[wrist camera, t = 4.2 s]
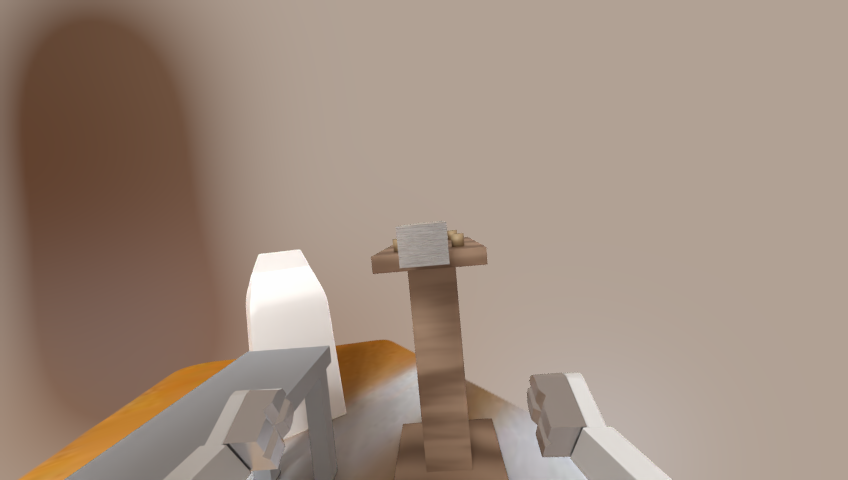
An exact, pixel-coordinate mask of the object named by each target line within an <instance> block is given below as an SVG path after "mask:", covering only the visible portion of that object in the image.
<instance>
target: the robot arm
mask: <svg viewBox="0 0 848 480" xmlns="http://www.w3.org/2000/svg"><path fill="white" fill-rule="evenodd" d="M529 381H530V385H531V387H530V388H528V392H527V402H528V408H529V412H530V416H531V419H532V420H533V421H534V422H535V423H536V424H537V425H538V426H537V430H536V437H537V440H538V444H539V447H540V451H541V454H542V457H571V458H570V459H571V460H572V461H573V462H574V463H575V465H576V466H577V467H578V468H579V469H580V470H581V472H582V473H583V474H584V475H585V476H586V478H587V479H588V480H672V479H671V478H670V477H669V476H668V475H666V474H665V473H664V472H663V471H662V470H661V469H660V468H658V467H657V466H656V465H655V464H654V463H653V462H652V461H651V460H649V459H648V458H647V457H646V456H645V455H644V454H643V453H642V452H640V451H639V450H638V449H637V448H636V447H635V446H633V445H632V444H631V443H630V442H629V441H628V440H627V439H626V438H625V437H623V436H622V435H621V434H620V433H619V432H617V430H615V429H614V428H613V427H612V426H606V424H605V422H604V420H603V417H602V415H601V413H600V411H599V409H598V407H597V405H596V403H595V401H594V399H593V397H592V394H591V392H590V390H589V388H588V386H587V384H586V382H585V380H584V378H583V376H582V375H581V374H580V373H579V372H572V373H552V374H540V375H531V376H530V380H529ZM285 396H286V393H285V391H284V390H283V388H280V389H261V390H240V391H235V392H234V393H233V394H232V395H231V396H230V397H229V399H228V401H227V403H226V405H225V407H224V409H223V411H222V413H221V415H220V417H219V419H218V420H217V422H216V424H215V426H214V428H213V430H212V432H211V434H210V436H209V438H208V440H207V442H206V444H205V445H204V446H199V447H198V448H197V449H196V450H195V451H194V452H193V453H192V454H190V455H189V456H188V457H187V458H186V459H185V460H184V461H183V462H182V463H181V464H180V465H178V466H177V467H176V468H175V469H174V470H173V471H172V472H171V473H170V474H169V475H168V476H166V477H165V478H164V479H163V480H246V479H247V477H248V476H249V475H250V474H251V471H258V470H271V469H278V466H279V463H280V460H281V457H282V454H283V451H284V448H285V444H284V441H283V438H284V437H285V436H286V435H287V433H288V432H289V431H290V429H291V426H292V422H293V415H294V410H293V405H292V403H291V401H289V400H287V399H285Z"/></svg>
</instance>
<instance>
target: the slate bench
mask: <svg viewBox="0 0 848 480" xmlns="http://www.w3.org/2000/svg"><path fill="white" fill-rule="evenodd" d="M330 363H331V354H330V346H318V347H304V348H291V349H277V350H264V351H250V352H247V353H246V354H244V355H242V356H241V357H240V358H238V359H237V360H235V361H234V362H232V363H231V364H230V365H228V366H227V367H225V368H224V369H222V370H221V371H219V372H218V373H217V374H215V375H214V376H212V377H211V378H209V379H208V380H207V381H205V382H204V383H202V384H201V385H199V386H198V387H197V388H195V389H194V390H192V391H191V392H189V393H188V394H186V395H185V396H184V397H182V398H181V399H179V400H178V401H176V402H175V403H174V404H172V405H171V406H169V407H168V408H166V409H165V410H164V411H162V412H161V413H159V414H158V415H156V416H155V417H153V418H152V419H151V420H149V421H148V422H146V423H145V424H143V425H142V426H141V427H139V428H138V429H136V430H135V431H133V432H132V433H130V434H129V435H128V436H126V437H125V438H123V439H122V440H120V441H119V442H118V443H116V444H115V445H113V446H112V447H110V448H109V449H108V450H106V451H105V452H103V453H102V454H100V455H99V456H97V457H96V458H95V459H93V460H92V461H90V462H89V463H87V464H86V465H85V466H83V467H82V468H80V469H79V470H77V471H76V472H75V473H73V474H72V475H70V476H69V477H67V478H66V479H64V480H163V479H164V478H165V477H166V476H168V475H169V474H170V473H171V472H172V471H173V470H174V469H175V468H176V467H177V466H178V465H180V464H181V463H182V462H183V461H184V460H185V459H186V458H187V457H188V456H189V455H190V454H192V453H193V452H194V451H195V450H196V449H197V448H198V447H199V446H204V445H205V444H206V442H207V440H208V438H209V436H210V434H211V432H212V430H213V428H214V426H215V424H216V422H217V420H218V419H219V417H220V415H221V413H222V411H223V409H224V407H225V405H226V403H227V401H228V399H229V397H230V396H231V395H232V394H233V393H234V392H235V391H240V390H261V389H280V388H283V390H284V391H285V393H286V396H285V399H287V400H289V401H291V403H292V405H293V410H294V412H295V410H296V409H297V408H298V406H299V405H300V404H301V402H302V401H303V400H304V398H305V404H306V413H307V421H308V430H309V438H310V447H311V456H312V464H313V473H314V480H333V479H334V477H335V474H336V472H337V460H336V451H335V442H334V433H333V424H332V415H331V406H330V397H329V388H328V379H327V371H326V369H327V367H328V366H329V364H330ZM280 473H281V471H280V463H279V466H278V469H271V470H258V471H253V474H254V480H276V479H277V478H278V476H279V474H280Z"/></svg>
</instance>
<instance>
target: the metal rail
mask: <svg viewBox="0 0 848 480" xmlns="http://www.w3.org/2000/svg"><path fill="white" fill-rule="evenodd" d="M396 234H397V245H398V255H399V266H400V268H410V267H422V266H434V265H445V264H450V262H449V250H448V238H447V227H446V222H442V221H439V222H427V223H417V224H410V225H404V226H398V227H396Z"/></svg>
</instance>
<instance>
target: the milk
mask: <svg viewBox="0 0 848 480" xmlns="http://www.w3.org/2000/svg"><path fill="white" fill-rule="evenodd" d="M252 272H253V273H252V274H251V278H250V283H249V286H248V291H247V295H246V312H247V325H248V337H249V351H264V350H277V349H291V348H304V347H318V346H330V354H331V363H330V364H329V366H328V367H327V369H326V371H327V379H328V388H329V397H330V406H331V415H332V419H335V418H337V417H340V416H342V415H345V414H347V413H346V407H345V401H344V395H343V389H342V383H341V377H340V371H339V365H338V359H337V353H336V347H335V342H334V335H333V329H332V323H331V317H330V312H329V306H328V301H327V298H326V295H325V293H324V290H323V288H322V287H321V285H320V283H319V281H318V280H317V278H316V276H315V274H314V273H313V271H312V269H311V267H310V266H309V264H308V262H307V260H306V259H305V257H304V255H303V254H302V252H301V250H291V251H283V252H274V253H265V254H259V255H258V258H257V260H256V263H255V266H254V268H253V271H252ZM306 430H308V421H307V413H306V404H305V398H304V400H303V401H302V402H301V404H300V405H299V406H298V408H297V409H296V410H295V412H294V415H293V422H292V426H291V429H290V431H289V432H288V433H287V435H286V436H285V437H284V438H283V440H284V439H286V438H289V437H291V436H294V435H296V434H298V433H301V432H303V431H306Z"/></svg>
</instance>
